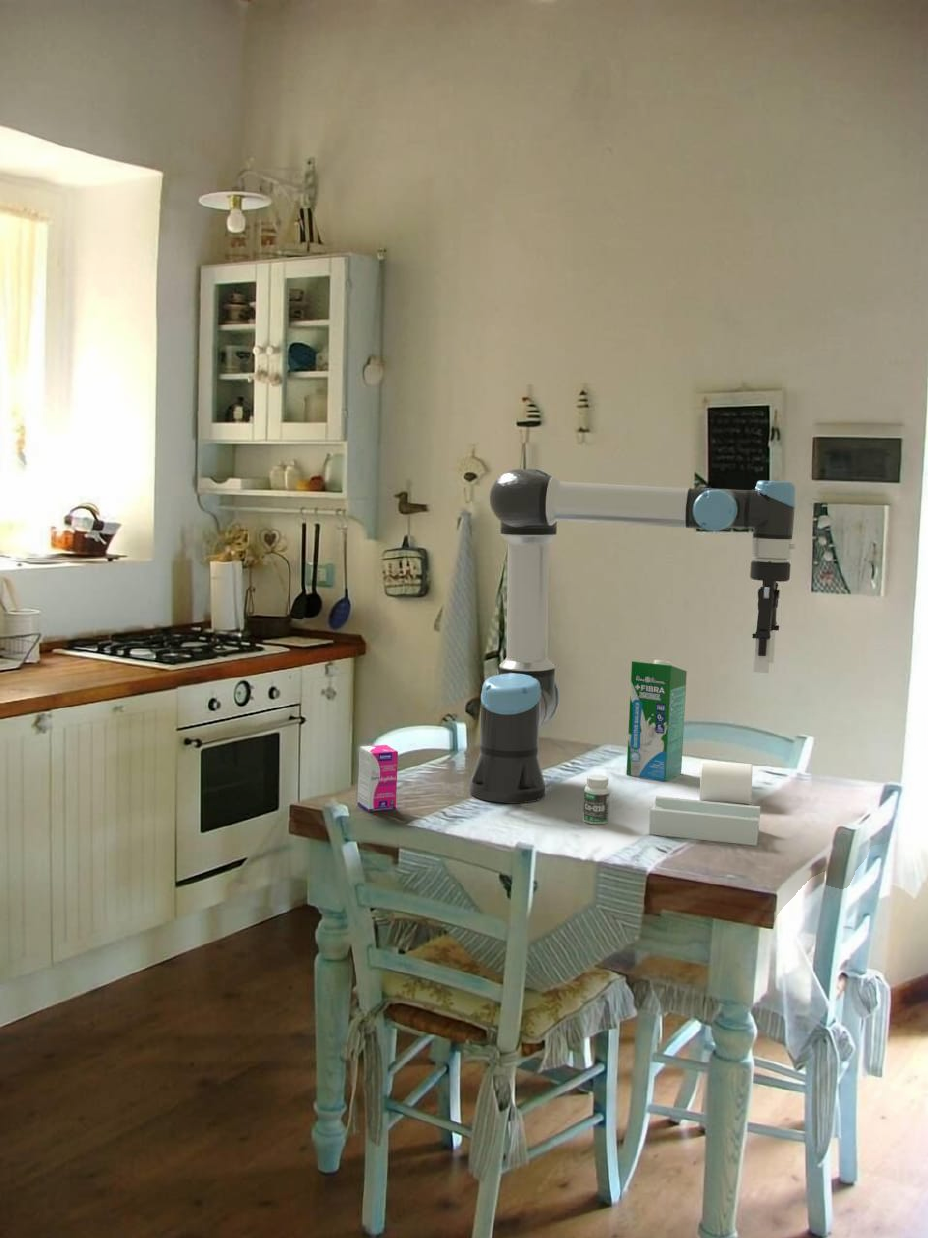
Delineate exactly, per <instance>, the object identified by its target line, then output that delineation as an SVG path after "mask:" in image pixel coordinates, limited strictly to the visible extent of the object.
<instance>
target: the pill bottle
mask: <svg viewBox="0 0 928 1238" xmlns="http://www.w3.org/2000/svg"><path fill="white" fill-rule="evenodd" d="M608 786H609V777H608V776H606V775H601V774H590V775H587V777H586V786H585V787H584V790H583V805H582V807H583V808H582V809H583V810H582V812H583V813H582V820H583V822H584V823H586V824H589V825H595V826H596V825H598V826H599V825H600V826H601V825H605V824H607V823H608V822H609V812H610V811H609V807H610V791H611V790H610V788H609V787H608Z"/></svg>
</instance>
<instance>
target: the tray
mask: <svg viewBox="0 0 928 1238" xmlns="http://www.w3.org/2000/svg"><path fill="white" fill-rule="evenodd" d="M760 815H761V805H760V806H759V805H751V804H737V803H725V802H713V801H701V800H699V799H698V800H697V799H689V798H688V799H687V798H678V797H668V796H659V795H658V796H657V795H656V797H655V804H654V807H650V810H649V826H648V835H655V836H663V837H673V838H681V839H682V838H683V839H691V840H702V841H711V842H719V843H720V842H721V843H730V844H737V845H748V846H755V847H756V846H758V845H757V844H758V838H759V832H760V818H761V817H760Z"/></svg>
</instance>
